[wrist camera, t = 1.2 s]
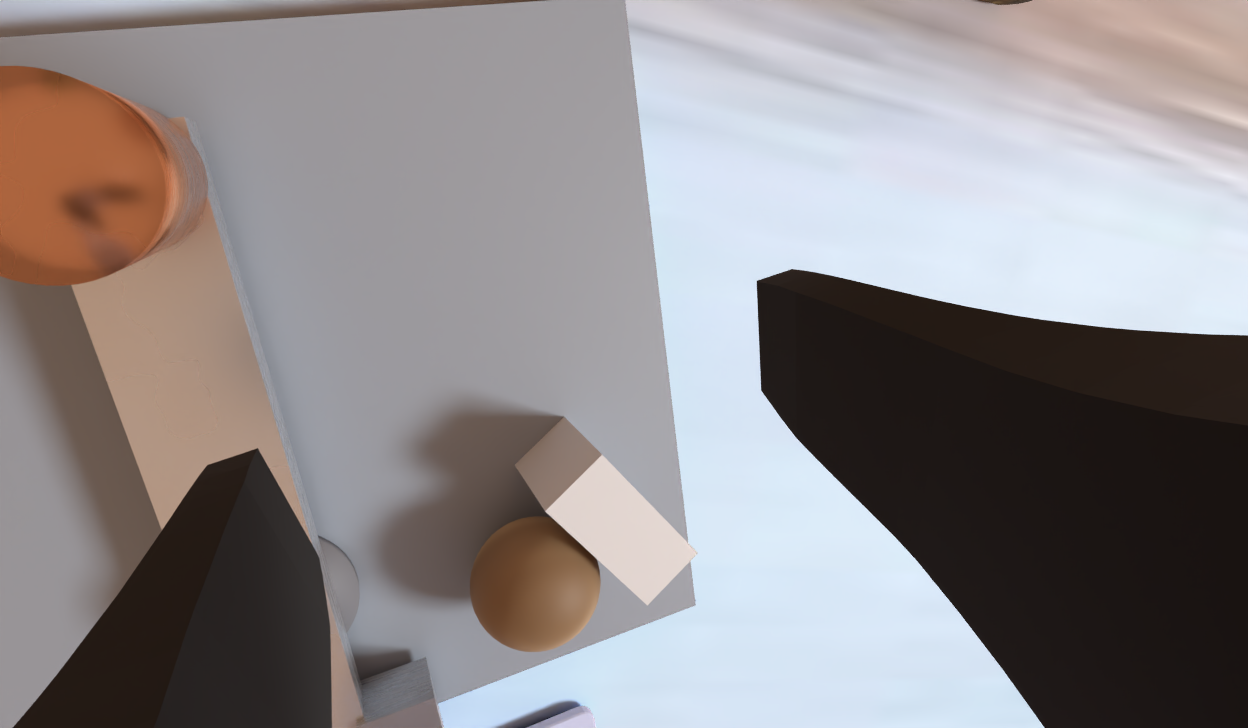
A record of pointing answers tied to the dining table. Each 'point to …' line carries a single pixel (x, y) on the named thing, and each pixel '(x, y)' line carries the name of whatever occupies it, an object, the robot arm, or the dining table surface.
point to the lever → (163, 314)
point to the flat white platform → (381, 325)
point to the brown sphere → (534, 585)
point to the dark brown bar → (1006, 1)
